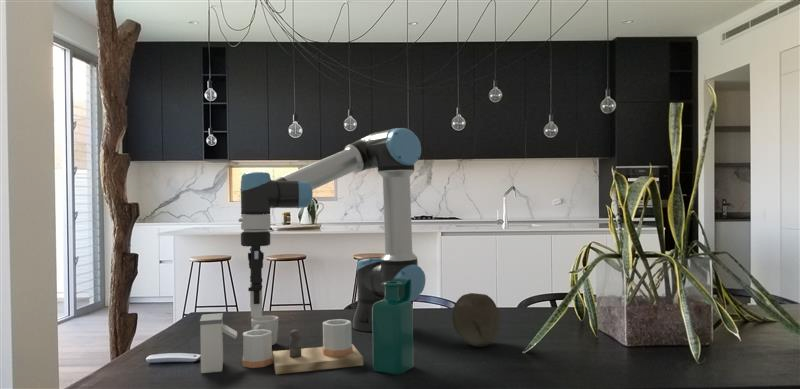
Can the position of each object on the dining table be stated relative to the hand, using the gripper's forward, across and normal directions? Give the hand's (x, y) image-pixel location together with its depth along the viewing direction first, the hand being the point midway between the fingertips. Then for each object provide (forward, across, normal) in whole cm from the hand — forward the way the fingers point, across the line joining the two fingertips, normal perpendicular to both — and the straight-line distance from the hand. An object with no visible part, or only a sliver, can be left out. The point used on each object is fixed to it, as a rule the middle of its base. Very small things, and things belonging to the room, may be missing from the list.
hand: (255, 311), depth 144 cm
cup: (+14, -17, +2) cm, 22 cm away
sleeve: (+14, 0, 0) cm, 14 cm away
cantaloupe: (+13, +3, +61) cm, 63 cm away
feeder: (+14, 0, -8) cm, 16 cm away
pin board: (+13, +4, +15) cm, 21 cm away
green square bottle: (+14, +16, +34) cm, 39 cm away
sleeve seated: (+11, +4, +21) cm, 24 cm away
